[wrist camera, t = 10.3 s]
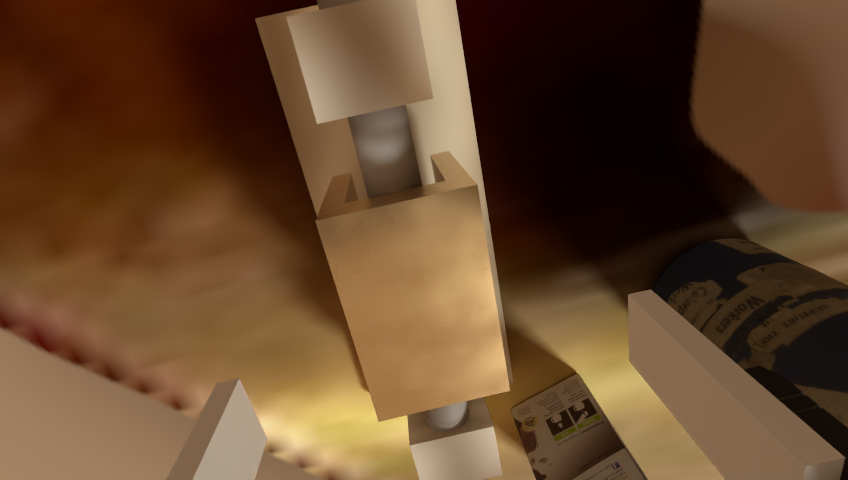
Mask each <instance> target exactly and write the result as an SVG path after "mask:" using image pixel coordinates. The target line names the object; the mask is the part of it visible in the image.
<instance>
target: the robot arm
mask: <svg viewBox="0 0 848 480" xmlns="http://www.w3.org/2000/svg"><path fill="white" fill-rule="evenodd" d="M628 324H629V361H630V362H631V364H632V365H633V366H634V367H635V369H636V370H637V371H638V372H639V373H640V375H641V376H642V377H643V378H644V380H645V381H646V382H647V383H648V385H649V386H650V387H651V388H652V390H653V391H654V392H655V393H656V394H657V396H658V397H659V398H660V399H661V401H662V402H663V403H664V404H665V406H666V407H667V408H668V409H669V410H670V412H671V413H672V414H673V415H674V417H675V418H676V419H677V420H678V422H679V423H680V424H681V425H682V427H683V428H684V429H685V430H686V431H687V433H688V434H689V435H690V436H691V438H692V439H693V440H694V441H695V443H696V444H697V445H698V446H699V448H700V449H701V450H702V451H703V452H704V454H705V455H706V456H707V457H708V459H709V460H710V461H711V462H712V464H713V465H714V466H715V467H716V469H717V470H718V471H719V472H720V473H721V475H722V476H723V477H724V478H725V480H848V428H847V427H846V426H845V425H844V424H842V423H841V422H840V421H839V420H837V419H836V418H835V417H834V416H832V415H831V414H830V413H828V412H827V411H826V410H825V409H823V408H820V407H819V405H818V404H817V403H816V402H815V401H813V400H812V399H811V398H810V397H808V396H807V395H804V394H803V392H802V391H801V390H800V389H798V388H797V387H796V386H795V385H793V384H792V383H791V382H790V381H788V380H787V379H786V378H784V377H783V376H781V375H779V374H777V373H774V372H772V371H770V370H768V369H766V368H764V367H762V366H756V367H751V368H747V369H742V368H741V367H740V366H739V365H737V364H736V363H735V362H734V361H733V360H732V359H731V358H729V357H728V356H727V355H726V354H725V353H724V352H722V351H721V350H720V349H719V348H718V347H717V346H716V345H714V344H713V343H712V342H711V341H710V340H709V339H707V338H706V337H705V336H704V335H703V334H702V333H700V332H699V331H698V330H697V329H696V328H695V327H694V326H692V325H691V324H690V323H689V322H688V321H687V320H685V319H684V318H683V317H682V316H681V315H680V314H679V313H677V312H676V311H675V310H674V309H673V308H672V307H670V306H669V305H668V304H667V303H666V302H665V301H664V300H662V299H661V298H660V297H659V296H658V295H657V294H655V293H654V292H653V291H652V290H651V289H650V290H646V291H641V292H636V293H632V294H628ZM266 441H267V437H266V435H265V433H264V431H263V429H262V427H261V424H260V422H259V420H258V418H257V416H256V414H255V411H254V409H253V407H252V405H251V403H250V401H249V398H248V396H247V394H246V392H245V390H244V387H243V385H242V383H241V381H240V379H234V380H230V381H225V382H220V383H217V384H216V386H215V387H214V389H213V391H212V393H211V395H210V397H209V399H208V401H207V403H206V405H205V406H204V408H203V410H202V412H201V414H200V416H199V418H198V420H197V422H196V424H195V426H194V428H193V430H192V431H191V433H190V435H189V437H188V439H187V441H186V443H185V445H184V447H183V448H182V450H181V452H180V454H179V456H178V458H177V460H176V462H175V464H174V466H173V468H172V469H171V471H170V473H169V475H168V477H167V479H166V480H254V479H255V476H256V473H257V470H258V467H259V463H260V460H261V457H262V454H263V451H264V448H265V444H266Z"/></svg>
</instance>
